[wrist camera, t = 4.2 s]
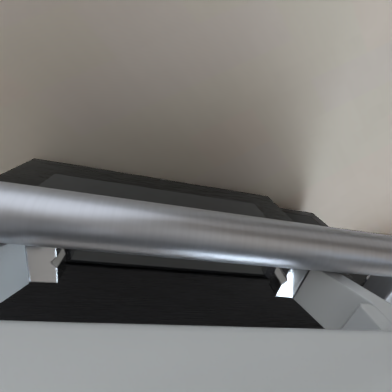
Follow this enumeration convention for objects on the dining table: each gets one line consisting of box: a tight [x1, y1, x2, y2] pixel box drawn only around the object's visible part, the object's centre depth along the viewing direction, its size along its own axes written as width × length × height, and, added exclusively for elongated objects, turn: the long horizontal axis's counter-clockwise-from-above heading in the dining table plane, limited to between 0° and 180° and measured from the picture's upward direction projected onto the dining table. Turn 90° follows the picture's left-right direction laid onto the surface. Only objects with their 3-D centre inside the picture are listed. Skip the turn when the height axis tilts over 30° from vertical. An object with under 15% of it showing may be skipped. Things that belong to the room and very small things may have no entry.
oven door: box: [0, 159, 392, 329], centre depth 16 cm, size 7×27×20 cm, turn 78°
